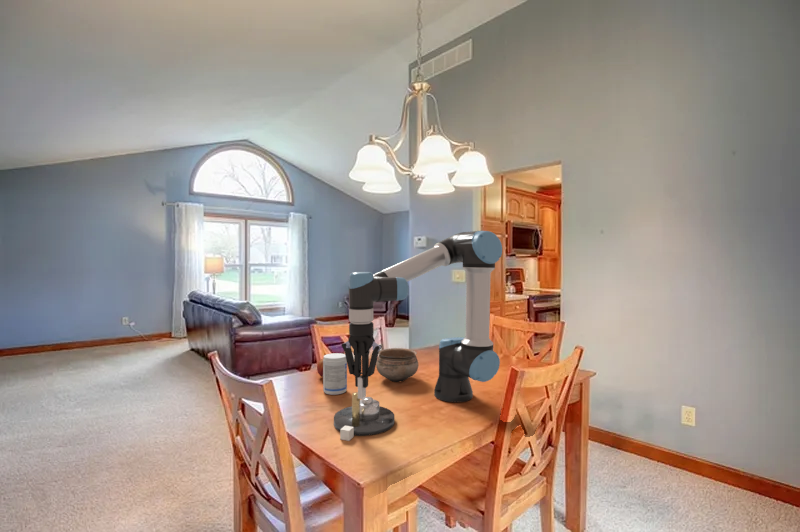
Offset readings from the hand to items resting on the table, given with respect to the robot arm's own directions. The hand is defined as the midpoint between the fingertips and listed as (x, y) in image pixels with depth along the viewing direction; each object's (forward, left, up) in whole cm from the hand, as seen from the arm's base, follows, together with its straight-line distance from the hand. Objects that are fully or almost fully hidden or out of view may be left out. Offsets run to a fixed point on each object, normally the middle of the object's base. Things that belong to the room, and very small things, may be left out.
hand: (361, 397), depth 124 cm
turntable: (+3, -7, -11) cm, 14 cm away
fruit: (+39, -45, -12) cm, 61 cm away
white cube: (+3, +5, -11) cm, 12 cm away
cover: (+1, -7, -9) cm, 12 cm away
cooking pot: (+9, -54, -11) cm, 56 cm away
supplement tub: (+27, -30, -11) cm, 42 cm away
